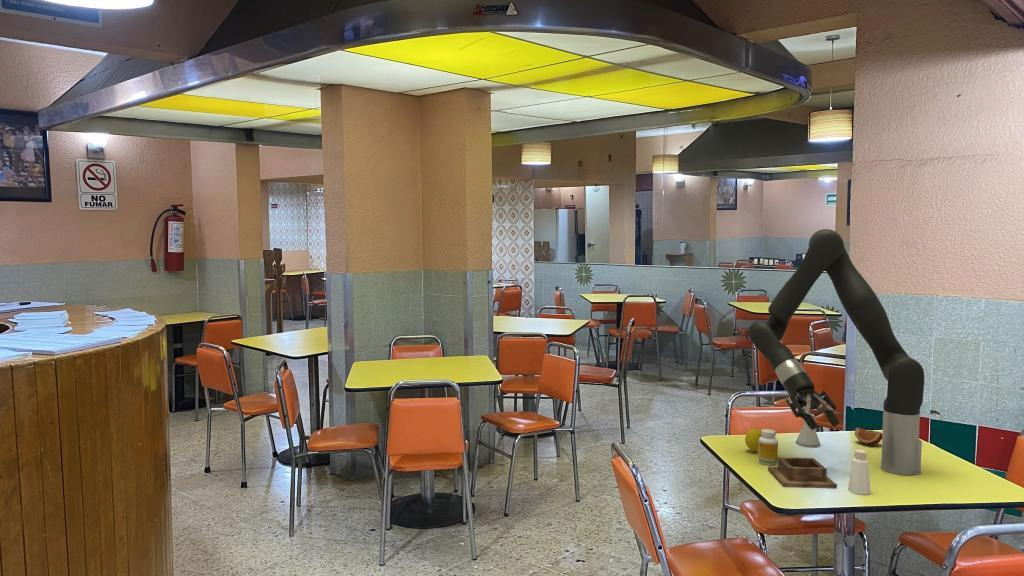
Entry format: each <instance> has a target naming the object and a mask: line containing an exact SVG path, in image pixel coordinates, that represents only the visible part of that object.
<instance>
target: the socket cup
mask: <svg viewBox="0 0 1024 576" xmlns="http://www.w3.org/2000/svg"><path fill="white" fill-rule="evenodd" d="M767 471H768V472H769V473H770V474H771V475H772V477H773V478H775V479H776V481H777V480H778V481H779V482H780V483H779V482H778V481H777V482H778V483H779V484H780V485H781V486H782V487H783V488H814V489H819V488H820V489H837V488H838V484H837V483H836V482H835V481H834V480H833V479H831V478H830V477H829V476H828V475H827V474H828V473H827V471H828V469H827V468H826V467H825V466H824V465H822V464H821V463H820V462H819V461H818V460H816V458H814V457H793V456H792V457H787V456H778V458H777V466H767Z"/></svg>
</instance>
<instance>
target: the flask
mask: <svg viewBox="0 0 1024 576" xmlns="http://www.w3.org/2000/svg"><path fill="white" fill-rule="evenodd" d="M810 414H811V416H812V417H813V419H814V420H815V416H816V415H815V414H814V413H810ZM810 414H809V415H810ZM816 430H817V429H816V428H815V429H814V430H811V429H810V428H809V427H808V425H807V423H806V422H805V420H804V419H803V424H802V427H801V429H800V432H799V434H798V435H797V438H796V440H795V443H796V445H799V446H802V447H806V448H817V447H821V441H820V438H819V436H818V434H817V433H818V432H817V431H816Z"/></svg>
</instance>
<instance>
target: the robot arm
mask: <svg viewBox="0 0 1024 576" xmlns="http://www.w3.org/2000/svg"><path fill="white" fill-rule="evenodd" d="M824 272H826V274H827V276H828V277H829V279H830V280H831V282H832V285H833V287H834V290H835V292H836V294H837V297H838V299H839V301H840V303H841V305H842V307H843V309H844V310H845V313H846V314H847V315H848V317H849V319H850V321H851V322H852V323H853V325H854V327H855V328H856V330H857V331H858V333H859V334H860V335H861V337H862V338H863V339H864V341H865V342H866V344H867V345H868V346H869V348H870V349H871V351H872V354H873V355H874V357H875V359H876V361H877V362H876V363H878V365H879V368H880V370H881V373H882V374H883V378H885V380H886V381H887V390H886V397H885V399H884V401H883V406H882V407H883V412H882V432H881V433H882V440H881V455H880V456H881V457H880V458H881V460H880V468H881V469H882V470H883V471H885V472H888V473H891V474H894V475H895V474H896V475H901V476H903V475H904V476H913V475H917V474H921V472H922V448H923V441H922V440H921V439H919V438H920V418H921V407H922V405H923V402H924V400H923V399H924V390H925V370H924V367H923V366H922V364H921V363H919V361H918V360H916V359H914V358H912V357H910V356H909V355H908V352H906V350H905V349H904V348H903V347H902V345H901V344H900V342H899V341H898V339H897V338H896V336H895V334H894V331H893V328H892V325H891V322H890V320H889V317H888V314H887V312H886V310H885V308H884V306H883V304H882V303H881V301H880V300H879V298H878V296H877V294H876V293H875V291H874V290H873V288H872V287H871V285H870V284H869V283H868V281H867V280H866V279H865V278H864V277H863V275H862V274H861V273H860V272H859V271H858V270H857V268H856V267H855V264H853V262H852V259H851V258H850V255H849V253H848V252H847V250H846V248H845V243H844V240H843V238H842V236H841V235H840V233H838V232H836V231H835V230H832V229H829V228H828V229H827V228H823V229H819V230H817V231H815V232H814V233H813V234H812V235H811V237H810V238H809V241H808V248H807V250H806V252H805V255H804V257H803V259H802V261H801V263H800V264H799V266H798V267H797V269H796V270H795V271H794V273H793V274H792V275H791V276H790V278H789V279H788V280H787V281H786V282H785V283H784V284H783V286H782V287H781V289H780V290H779V291H778V292H777V294H776V295H775V297H774V299H773V300H772V301H771V303H770V305H769V306H768V308H767V310H768V311H767V312H768V314H770V315H769V317H768V319H767V321H763V320H757V321H754V322H753V323H751V325H750V326H749V327H748V337H749V339H750V341H751V343H752V344H753V345H754V347H755V348H756V349H757V350H758V351H759V352H760V354H762V355H763V356H764V357H765V358H766V360H767V361H768V363H769V364H770V366H771V368H772V369H773V371H774V372H775V374H776V375H777V378H778V380H779V382H780V383H781V384H782V386H783V388H784V390H785V391H786V393H787V394H788V395H789V396H788V398H786V400H785V401H786V403H787V405H788V406H789V409H790V410H791V412H792V413H793V415H794V417H795V418H801V420H803V421H804V420H805V422H806V423H807V425H808V427H809V428H810V429H811V430H814V429H815V430H816V429H817V428H818V423H817V421H816V420H815V418H814V419H813V417H812V416H811V414H812V413H810V412H811V411H810V410H815V411H818V412H821V413H822V414H823V415H825V417H826V418H827V420H828V421H829V423H830V425H831V426H832V427H833V428H834V427H836V426H838V425H839V424H840V419H838V417H837V416H836V414H835V413H834V411H835V410H836V409H837V405H836V404H835V403H834V401H833V400H832V398H831V397H830V396H829V395H828V394H827V392H826V391H825V390H822V391H821V392H817V391H816V390H815V383H814V382H813V380H812V379H811V377H810V376H809V374H808V372H807V371H806V370H805V368H804V367H803V366H802V364H801V363H800V362H799V361H798V360H797V358H796V356H795V355H794V353H793V352H792V351H791V349H790V348H789V347H788V346H787V345H785V344H784V343H782V342H781V341H782V339H783V337H784V335H785V332H787V331H786V330H787V327H788V325H789V323H790V320H791V318H792V317H793V316H794V314H795V313H796V311H797V310H798V309H799V307H800V305H801V304H802V303H803V301H804V299H805V298H806V296H807V295H808V294H809V292H810V291H811V289H812V287H813V286H814V285H815V283H816V281H817V280H818V279H819V278H820V276H821V275H822V274H823V273H824ZM809 414H810V415H809Z"/></svg>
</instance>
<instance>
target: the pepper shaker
mask: <svg viewBox="0 0 1024 576" xmlns="http://www.w3.org/2000/svg"><path fill="white" fill-rule="evenodd" d="M867 453H868V452H867V451H866V450H865V449H855V450H854V456H855V457H854V458H853V459H852V462H851V468H850V475H849V480H848V487H847V489H848V491H849V492H850V493H852V494H855V495H863V496H867V495H870V494H871V493H872V491H871V478H870V463H869V461H868V459H867Z"/></svg>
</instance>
